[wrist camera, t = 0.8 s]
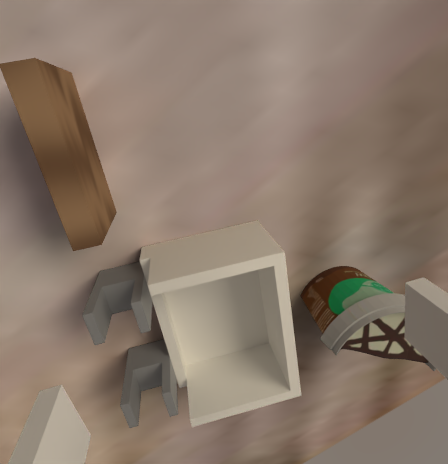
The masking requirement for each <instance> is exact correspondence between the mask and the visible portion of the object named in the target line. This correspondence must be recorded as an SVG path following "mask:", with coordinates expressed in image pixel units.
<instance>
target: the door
mask: <svg viewBox="0 0 448 464" xmlns="http://www.w3.org/2000/svg"><path fill="white" fill-rule="evenodd" d="M0 68H1V71H2V73H3V76H4V78H5V81H6V83H7V86H8V88H9V91H10V93H11V96H12V98H13V101H14V103H15V106H16V108H17V111H18V113H19V116H20V118H21V121H22V124H23V126H24V129H25V131H26V134H27V136H28V139H29V141H30V144H31V146H32V149H33V151H34V154H35V156H36V159H37V161H38V164H39V166H40V169H41V171H42V174H43V176H44V179H45V181H46V184H47V186H48V189H49V191H50V194H51V197H52V199H53V202H54V204H55V207H56V209H57V212H58V214H59V217H60V219H61V222H62V224H63V227H64V229H65V232H66V234H67V237H68V239H69V242H70V244H71V247H72V249H73V251H76V250H81V249H85V248H89V247H94V246H98V245H102V243H103V241H104V238H105V236H106V234H107V232H108V230H109V228H110V225H111V223H112V221H113V219H114V217H115V215H116V209H115V206H114V203H113V200H112V197H111V194H110V190H109V187H108V184H107V181H106V178H105V175H104V172H103V169H102V166H101V163H100V159H99V156H98V153H97V150H96V147H95V144H94V141H93V138H92V135H91V132H90V129H89V125H88V122H87V119H86V116H85V113H84V110H83V107H82V104H81V101H80V98H79V94H78V91H77V88H76V85H75V82H74V79H73V76H72V73H71V72H68V71H66V70H63V69H61V68H58V67H56V66H54V65H51V64H49V63H46V62H44V61H41V60H39V59H36V58H32V59H26V60H20V61H14V62H8V63H2V64H0Z"/></svg>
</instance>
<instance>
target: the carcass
mask: <svg viewBox="0 0 448 464" xmlns="http://www.w3.org/2000/svg"><path fill="white" fill-rule="evenodd" d="M152 301H153V305H154V308H155V311H156V314H157V317H158V321H159V324H160V327H161V330H162V333H163V337H164V340H160V341H156V342H152V343H148V344H144V345H140V346H137V347H133V348H129V350H128V357H127V364H126V370H125V377H124V384H123V390H122V397H121V404H120V406H121V409H122V411H123V413H124V416H125V418H126V421H127V423H128V425H129V428H132V427H136V426H138V423H139V411H140V399H141V391H144V390H148V389H152V388H155V387H159V386H162V396H163V399H164V402H165V404H166V407H167V410H168V413H169V416H170V417H171V416H175V415H178V401H177V381H178V385H179V388H182V387H185V386H187V390H188V402H189V414H190V422H191V425H192V427H194V426H198V425H201V424H205V423H208V422H211V421H215V420H218V419H222V418H225V417H229V416H232V415H236V414H239V413H243V412H246V411H250V410H253V409H256V408H260V407H263V406H267V405H270V404H274V403H277V402H281V401H284V400H288V399H291V398H294V397H298V396H301V389H300V380H299V371H298V363H297V354H296V346H295V337H294V329H293V320H292V311H291V303H290V294H289V286H288V277H287V269H286V260H285V252H284V251H283V250H282V248H281V247H280V246H279V245H278V244H277V242H276V241H275V240H274V239H273V238H272V237H271V235H270V234H269V233H268V232H267V231H266V229H265V228H264V227H263V226H262V225H261V224H260V222H259V221H258V220H257V221H252V222H248V223H244V224H239V225H235V226H231V227H226V228H222V229H218V230H213V231H209V232H205V233H201V234H196V235H192V236H188V237H183V238H179V239H175V240H170V241H166V242H162V243H157V244H153V245H149V246H144V247H142V249H141V255H140V262H137V263H132V264H128V265H124V266H120V267H115V268H111V269H107V270H103V271H100V272H99V275H98V277H97V280H96V282H95V285H94V287H93V290H92V292H91V295H90V297H89V300H88V302H87V305H86V307H85V310H84V312H83V315H82V316H83V319H84V321H85V323H86V326H87V328H88V330H89V333H90V335H91V337H92V340H93V342H94V345H98V344H102V343H105V339H106V335H107V331H108V328H109V324H110V320H111V316H112V314H114V313H118V312H122V311H127V310H131V309H133V312H134V315H135V317H136V320H137V323H138V326H139V329H140V332H141V333H144V332H148V331H151V316H152ZM176 378H177V379H176Z"/></svg>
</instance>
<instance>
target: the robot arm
mask: <svg viewBox="0 0 448 464" xmlns="http://www.w3.org/2000/svg"><path fill="white" fill-rule="evenodd" d="M405 339H406V340H407V341H408V342H409V343H410V344H411V345H412V346H413V347H414V348H415V349H417V350H418V351H419V352H420V353H421V354H422V355H423V356H424V357H425V358H426V359H427V360H428V361H429V362H430V363H431V364H432V365H433V366H434V367H435V368H436V369H437V370H438V371H439V372H440V373H441V374H442V375H443V376H444V377H445V378H446V379H447V380H448V293H446V292H445V291H443V290H442V289H440V288H439V287H437V286H436V285H434V284H433V283H431V282H430V281H428V280H427V279H425V278H424V277H423V278H420V279H417V280H413V281H410V282H406V283H405ZM90 438H91V434H90V433H89V431H88V429H87V427H86V426H85V424H84V422H83V421H82V419H81V417H80V415H79V414H78V412H77V410H76V408H75V407H74V405H73V403H72V402H71V400H70V398H69V396H68V395H67V393H66V391H65V390H64V388H63V386H62V385H59V386H55V387H52V388H48V389H45V390H42V391H40V392H39V394H38V396H37V398H36V401H35V403H34V405H33V408H32V410H31V412H30V415H29V417H28V419H27V421H26V424H25V426H24V428H23V431H22V433H21V435H20V438H19V440H18V442H17V444H16V447H15V449H14V451H13V454H12V456H11V458H10V460H9V463H8V464H85V460H86V456H87V451H88V447H89V442H90Z"/></svg>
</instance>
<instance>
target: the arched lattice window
mask: <svg viewBox="0 0 448 464" xmlns="http://www.w3.org/2000/svg"><path fill="white" fill-rule="evenodd" d="M301 298H302V299H303V301H304V303H305V305H306V306H307V308H308V310H309V311H310V313H311V315H312V316H313V318H314V320H315V322H316V323H317V325H318V327H319V328H320V330H321V332H322V334H323V335H322V336H321V338H320V339H321V340H322V341H323V343H324V344H325V345H326V346H327V347H328V348H329V349H330V350H332V351H333V352H334V353H335V355H337V354H338V352H339V351H340V349H348V350H354V351H359V352H363V353H367V354H370V355H374V356H378V357H382V358H388V359H406V360H412V361H418V362H423V363H425V364H426V365H428V366H429V367H430V368H431V369H432V370H433V371H435V370H436V368H435V367H434V366H433V365H432V364H431V363H430V362H429V361H428V360H427V359H426V358H425V357H424V356H423V355H422V354H421V353H420V352H419V351H418V350H417V349H415V348H414V347H413V346H412V345H411V344H410V343H409V342H408V341H407V340H406V339H405V295H403V294H396V293H393V292H391V291H390V290H388V289H387V288H385V287H384V286H382V285H381V284H379V283H378V282H376V281H375V280H373V279H372V278H370V277H369V276H367V275H366V274H364V273H363V272H361V271H359V270H358V269H356V268H353V267H348V266H339V267H334V268H331V269H328V270H326V271H324V272H322V273H320V274H319V275H317V276H316V277H315V278H314V279H312V280H311V281H310V282H309V283H308V285H307V286H306V287H305V289H304V290H303V292H302V294H301Z"/></svg>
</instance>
